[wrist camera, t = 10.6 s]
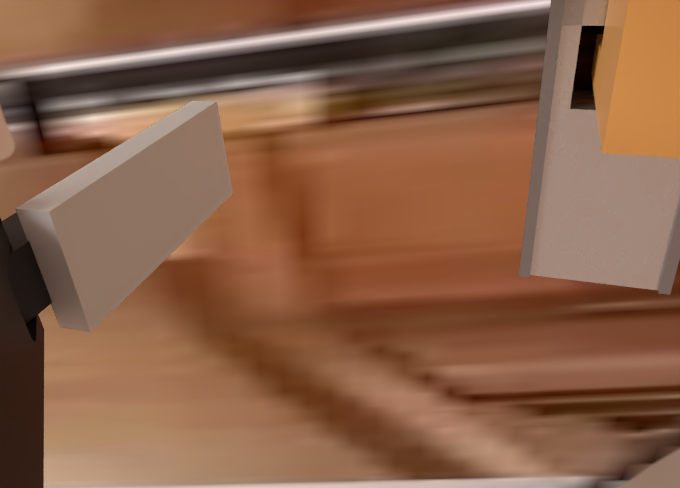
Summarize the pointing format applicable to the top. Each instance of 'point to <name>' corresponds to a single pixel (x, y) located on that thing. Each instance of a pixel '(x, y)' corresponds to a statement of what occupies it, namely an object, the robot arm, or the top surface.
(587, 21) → the rail
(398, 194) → the top surface
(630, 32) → the tall orange block
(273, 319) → the top surface
